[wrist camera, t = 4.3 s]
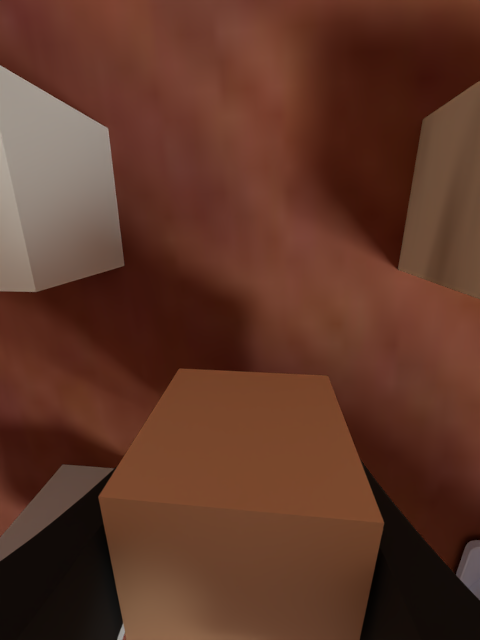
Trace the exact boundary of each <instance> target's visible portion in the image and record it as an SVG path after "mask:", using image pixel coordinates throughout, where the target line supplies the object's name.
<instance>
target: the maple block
mask: <svg viewBox="0 0 480 640" xmlns="http://www.w3.org/2000/svg"><path fill="white" fill-rule="evenodd" d="M398 270H400V271H403V272H406V273H408V274H411V275H414V276H417V277H420V278H422V279H425V280H428V281H431V282H433V283H436V284H439V285H442V286H445V287H447V288H450V289H453V290H456V291H459V292H461V293H464V294H467V295H470V296H472V297H475V298H478V299H480V81H478V82H477V83H475V84H474V85H472V86H471V87H470V88H468V89H467V90H465V91H464V92H462V93H461V94H459V95H458V96H456V97H455V98H453V99H452V100H450V101H449V102H447V103H446V104H445V105H443V106H442V107H440V108H439V109H437V110H436V111H434V112H433V113H431V114H430V115H428V116H427V117H425V118H424V119H423V121H422V127H421V133H420V139H419V145H418V151H417V157H416V163H415V169H414V176H413V182H412V188H411V194H410V200H409V206H408V212H407V218H406V224H405V230H404V236H403V242H402V248H401V254H400V260H399V266H398Z"/></svg>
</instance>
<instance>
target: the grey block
mask: <svg viewBox="0 0 480 640" xmlns="http://www.w3.org/2000/svg"><path fill="white" fill-rule="evenodd" d="M113 469H114V468H102V467H90V466H77V465H64V464H63V465H62V466H61V467H60V468H59V469H58V470H57V472H56V473H55V474H54V475H53V476H52V477H51V479H50V480H49V481H48V482H47V483H46V485H45V486H44V487H43V488H42V489H41V490H40V492H39V493H38V494H37V495H36V496H35V497H34V499H33V500H32V501H31V502H30V503H29V504H28V506H27V507H26V508H25V509H24V510H23V511H22V513H21V514H20V515H19V516H18V517H17V518H16V520H15V521H14V522H13V523H12V524H11V526H10V527H9V528H8V529H7V530H6V531H5V533H4V534H3V535H2V536H1V537H0V561H1V560H3V559H4V558H5V557H7V556H8V555H9V554H11V553H12V552H14V551H15V550H16V549H18V548H19V547H20V546H22V545H23V544H24V543H26V542H27V541H29V540H30V539H31V538H33V537H34V536H35V535H36V534H38V533H39V532H40V531H42V530H43V529H44V528H45V527H47V526H48V525H49V524H50V523H52V522H53V521H54V520H55V519H57V518H58V517H59V516H60V515H61V514H63V513H64V512H65V511H66V510H67V509H69V508H70V507H71V506H72V505H73V504H75V503H76V502H77V501H78V500H79V499H81V498H82V497H83V496H84V495H85V494H86V493H88V492H89V491H90V490H91V489H92V488H93V487H94V486H95V485H97V484H98V483H99V482H100V481H101V480H102V479H103V478H104V477H105V476H107V475H108V474H109V473H110V472H111V471H112V470H113ZM124 633H125V629H124V624H123V625H122V628H121V630H120V633H119V636H118V639H117V640H122V639H123V636H124Z"/></svg>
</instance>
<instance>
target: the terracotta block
mask: <svg viewBox="0 0 480 640" xmlns="http://www.w3.org/2000/svg"><path fill="white" fill-rule="evenodd" d="M98 498H99V503H100V508H101V513H102V518H103V523H104V528H105V533H106V538H107V543H108V548H109V553H110V559H111V564H112V569H113V574H114V579H115V584H116V589H117V594H118V599H119V604H120V609H121V614H122V619H123V624H124V629H125V634H126V639H127V640H360V635H361V631H362V626H363V621H364V616H365V612H366V607H367V602H368V598H369V593H370V588H371V583H372V579H373V574H374V569H375V564H376V560H377V555H378V550H379V546H380V541H381V536H382V531H383V527H384V521H383V518H382V516H381V513H380V511H379V508H378V505H377V503H376V500H375V497H374V495H373V492H372V490H371V487H370V484H369V482H368V479H367V477H366V474H365V471H364V469H363V466H362V463H361V461H360V458H359V456H358V453H357V450H356V448H355V445H354V443H353V440H352V437H351V435H350V432H349V429H348V427H347V424H346V422H345V419H344V416H343V414H342V411H341V409H340V406H339V403H338V401H337V398H336V395H335V393H334V390H333V388H332V385H331V382H330V380H329V377H328V376H327V375H306V374H285V373H264V372H243V371H222V370H201V369H180V368H179V370H178V371H177V373H176V374H175V376H174V377H173V379H172V381H171V382H170V384H169V385H168V387H167V389H166V390H165V392H164V393H163V395H162V397H161V398H160V400H159V401H158V403H157V404H156V406H155V408H154V409H153V411H152V412H151V414H150V416H149V417H148V419H147V420H146V422H145V424H144V425H143V427H142V428H141V430H140V431H139V433H138V435H137V436H136V438H135V439H134V441H133V443H132V444H131V446H130V447H129V449H128V450H127V452H126V454H125V455H124V457H123V458H122V460H121V462H120V463H119V465H118V466H117V468H116V470H115V471H114V473H113V474H112V476H111V477H110V479H109V481H108V482H107V484H106V485H105V487H104V489H103V490H102V492H101V493H100V495H99V497H98Z"/></svg>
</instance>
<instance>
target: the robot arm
mask: <svg viewBox="0 0 480 640" xmlns="http://www.w3.org/2000/svg"><path fill="white" fill-rule="evenodd" d="M360 461H361V460H360ZM361 463H362V466H363V469H364V471H365V474H366V477H367V479H368V482H369V484H370V487H371V490H372V492H373V495H374V497H375V500H376V503H377V505H378V508H379V511H380V513H381V516H382V518H383V521H384V527H383V531H382V536H381V541H380V546H379V550H378V555H377V560H376V564H375V569H374V574H373V579H372V583H371V588H370V593H369V598H368V602H367V607H366V612H365V616H364V621H363V626H362V631H361V635H360V640H480V540H473V541H470V542H468V543H467V545H466V546H465V549H464V552H463V555H462V558H461V561H460V564H459V567H458V569H457V572H456V575H455V574H454V572H453V571H452V570H451V569H450V568H449V567H448V566H447V565H446V564H445V563H444V562H443V560H442V559H441V558H440V557H439V556H438V555H437V554H436V553H435V551H434V550H433V549H432V548H431V547H430V546H429V545H428V544H427V542H426V541H425V540H424V539H423V538H422V537H421V535H420V534H419V533H418V532H417V531H416V530H415V528H414V527H413V526H412V525H411V524H410V522H409V521H408V520H407V519H406V517H405V516H404V515H403V514H402V513H401V511H400V510H399V509H398V508H397V507H396V505H395V504H394V503H393V502H392V500H391V499H390V498H389V497H388V495H387V494H386V493H385V491H384V490H383V489H382V488H381V486H380V485H379V484H378V482H377V481H376V480H375V478H374V477H373V476H372V474H371V473H370V472H369V470H368V469H367V468H366V466H365V465H364V464H363V462H362V461H361ZM116 468H117V466H116V467H115V468H114V469H113V470H112V471H111V472H110V473H109V474H108V475H107V476H105V477H104V478H103V479H102V480H101V481H100V482H99V483H98V484H97V485H95V486H94V487H93V488H92V489H91V490H90V491H89V492H88V493H86V494H85V495H84V496H83V497H82V498H81V499H79V500H78V501H77V502H76V503H75V504H73V505H72V506H71V507H70V508H69V509H67V510H66V511H65V512H64V513H63V514H61V515H60V516H59V517H58V518H57V519H55V520H54V521H53V522H52V523H50V524H49V525H48V526H47V527H45V528H44V529H43V530H42V531H40V532H39V533H38V534H36V535H35V536H34V537H33V538H31V539H30V540H29V541H27V542H26V543H24V544H23V545H22V546H20V547H19V548H18V549H16V550H15V551H14V552H12V553H11V554H9V555H8V556H7V557H5V558H4V559H3V560H1V561H0V640H117V639H118V636H119V633H120V630H121V628H122V625H123V619H122V614H121V609H120V604H119V599H118V594H117V589H116V584H115V579H114V574H113V569H112V564H111V559H110V553H109V548H108V543H107V538H106V533H105V528H104V523H103V518H102V513H101V508H100V503H99V498H98V497H99V495H100V493H101V492H102V490H103V489H104V487H105V485H106V484H107V482H108V481H109V479H110V477H111V476H112V474H113V473H114V471H115V470H116Z"/></svg>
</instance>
